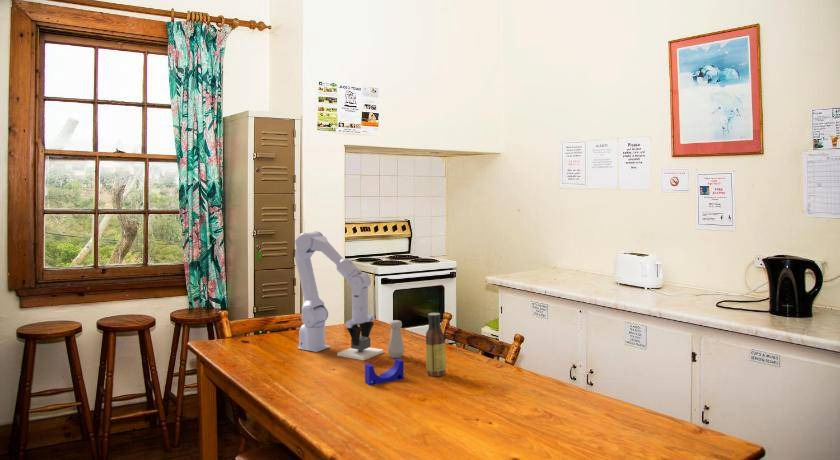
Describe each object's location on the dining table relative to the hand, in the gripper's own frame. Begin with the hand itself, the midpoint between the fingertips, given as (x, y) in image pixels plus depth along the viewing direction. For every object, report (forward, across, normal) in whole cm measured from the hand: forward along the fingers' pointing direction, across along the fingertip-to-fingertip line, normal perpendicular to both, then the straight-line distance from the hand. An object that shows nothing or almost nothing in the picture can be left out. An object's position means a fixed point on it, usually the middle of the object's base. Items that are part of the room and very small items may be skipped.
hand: (360, 343), depth 208 cm
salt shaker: (+4, +4, -13) cm, 14 cm away
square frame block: (+2, 0, 0) cm, 2 cm away
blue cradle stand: (+4, -19, -24) cm, 31 cm away
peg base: (+4, 0, 0) cm, 4 cm away
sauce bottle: (+4, -6, -35) cm, 36 cm away
